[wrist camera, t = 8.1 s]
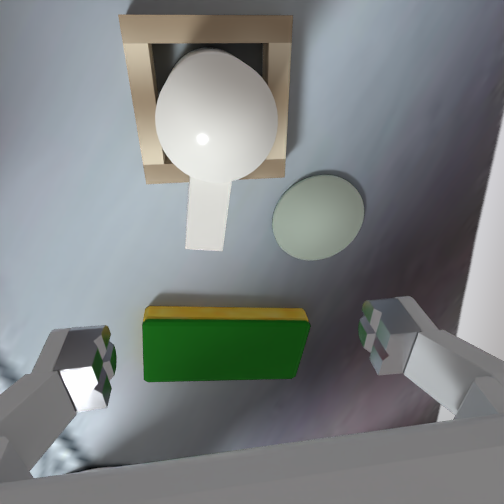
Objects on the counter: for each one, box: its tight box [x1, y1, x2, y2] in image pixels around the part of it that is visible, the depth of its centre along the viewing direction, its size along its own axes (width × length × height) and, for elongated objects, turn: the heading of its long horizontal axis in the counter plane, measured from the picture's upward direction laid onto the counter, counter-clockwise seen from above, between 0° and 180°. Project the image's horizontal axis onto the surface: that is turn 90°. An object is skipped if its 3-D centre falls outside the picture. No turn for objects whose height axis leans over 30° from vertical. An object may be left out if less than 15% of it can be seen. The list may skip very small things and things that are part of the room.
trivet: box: [272, 175, 364, 260], centre depth 27 cm, size 7×7×1 cm
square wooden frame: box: [118, 15, 293, 184], centre depth 21 cm, size 9×9×2 cm
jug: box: [155, 47, 278, 251], centre depth 19 cm, size 9×5×8 cm, turn 171°
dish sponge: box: [142, 306, 311, 382], centre depth 32 cm, size 7×14×2 cm, turn 82°
